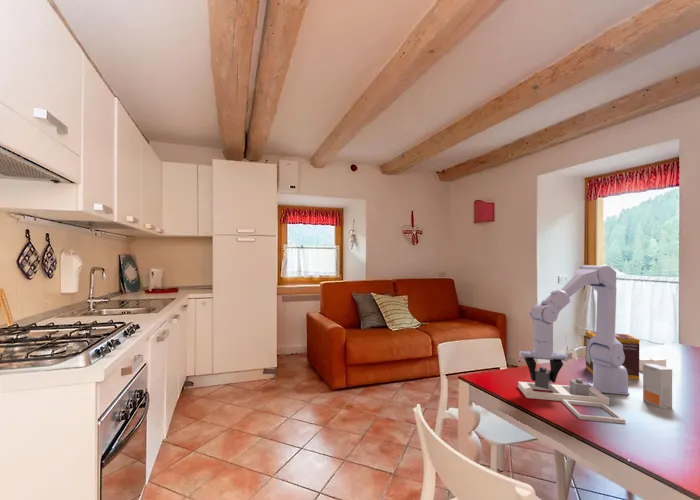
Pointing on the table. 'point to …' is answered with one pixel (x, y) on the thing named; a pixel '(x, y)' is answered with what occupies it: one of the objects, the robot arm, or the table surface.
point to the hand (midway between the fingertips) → (542, 380)
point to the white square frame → (597, 418)
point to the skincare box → (657, 385)
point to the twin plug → (579, 387)
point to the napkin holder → (651, 362)
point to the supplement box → (629, 351)
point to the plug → (543, 378)
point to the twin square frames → (561, 393)
